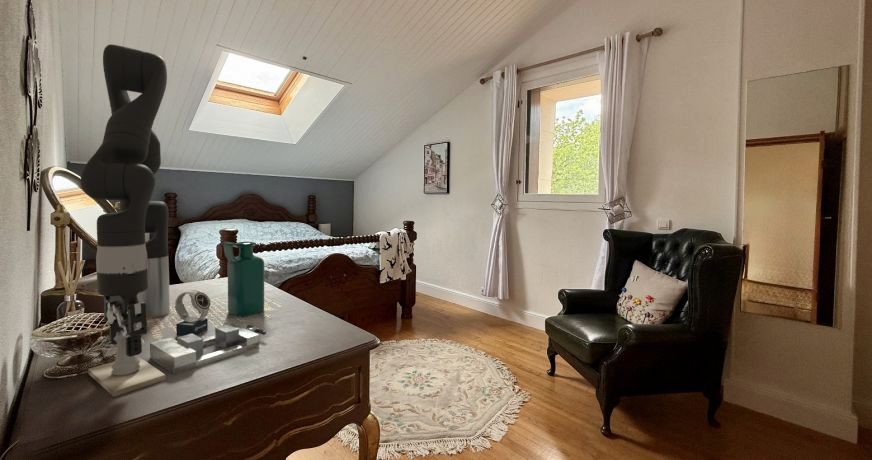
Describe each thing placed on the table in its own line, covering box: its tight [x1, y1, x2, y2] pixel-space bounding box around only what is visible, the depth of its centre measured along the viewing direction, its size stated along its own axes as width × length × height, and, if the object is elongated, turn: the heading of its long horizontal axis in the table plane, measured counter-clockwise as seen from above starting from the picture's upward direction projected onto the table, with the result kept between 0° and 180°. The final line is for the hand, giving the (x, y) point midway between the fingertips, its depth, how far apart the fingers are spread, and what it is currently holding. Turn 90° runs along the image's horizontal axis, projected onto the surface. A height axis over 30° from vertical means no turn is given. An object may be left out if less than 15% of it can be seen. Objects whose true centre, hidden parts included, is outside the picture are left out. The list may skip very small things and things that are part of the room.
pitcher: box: [222, 241, 265, 318], centre depth 114 cm, size 10×8×22 cm
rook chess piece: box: [111, 330, 140, 376], centre depth 73 cm, size 4×4×8 cm
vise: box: [149, 323, 267, 375], centre depth 87 cm, size 12×21×4 cm, turn 147°
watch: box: [174, 289, 211, 337], centre depth 97 cm, size 6×8×11 cm
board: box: [87, 355, 166, 398], centre depth 74 cm, size 14×8×1 cm, turn 57°
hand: (125, 349), depth 73 cm, fingers open, 8 cm apart
